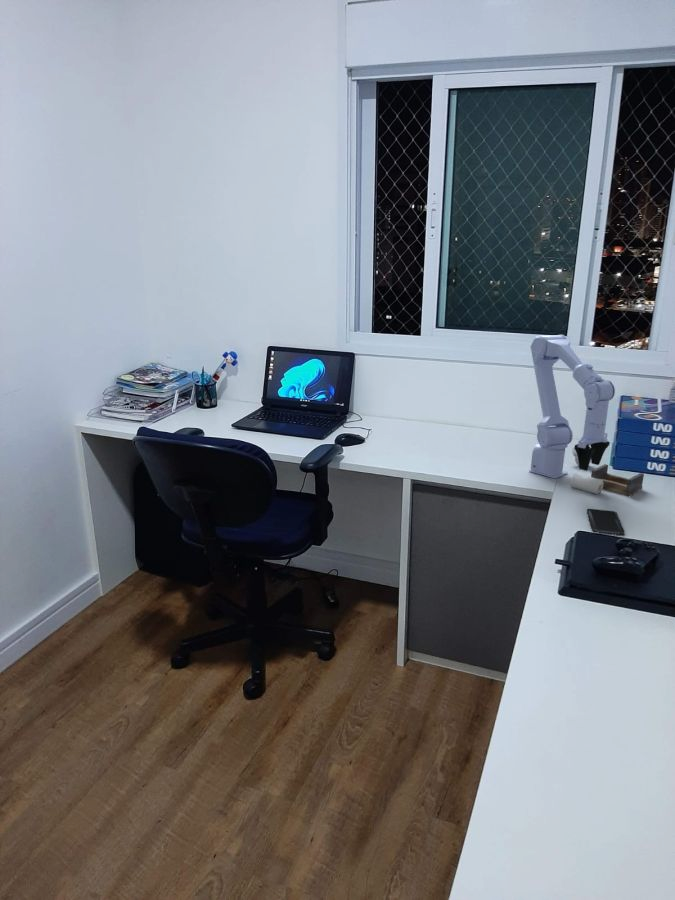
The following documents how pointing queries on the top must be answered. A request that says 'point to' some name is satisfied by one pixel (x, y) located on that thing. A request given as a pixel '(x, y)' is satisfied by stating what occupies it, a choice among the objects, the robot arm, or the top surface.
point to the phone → (605, 521)
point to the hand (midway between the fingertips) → (589, 466)
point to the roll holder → (618, 481)
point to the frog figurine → (576, 456)
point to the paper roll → (587, 483)
